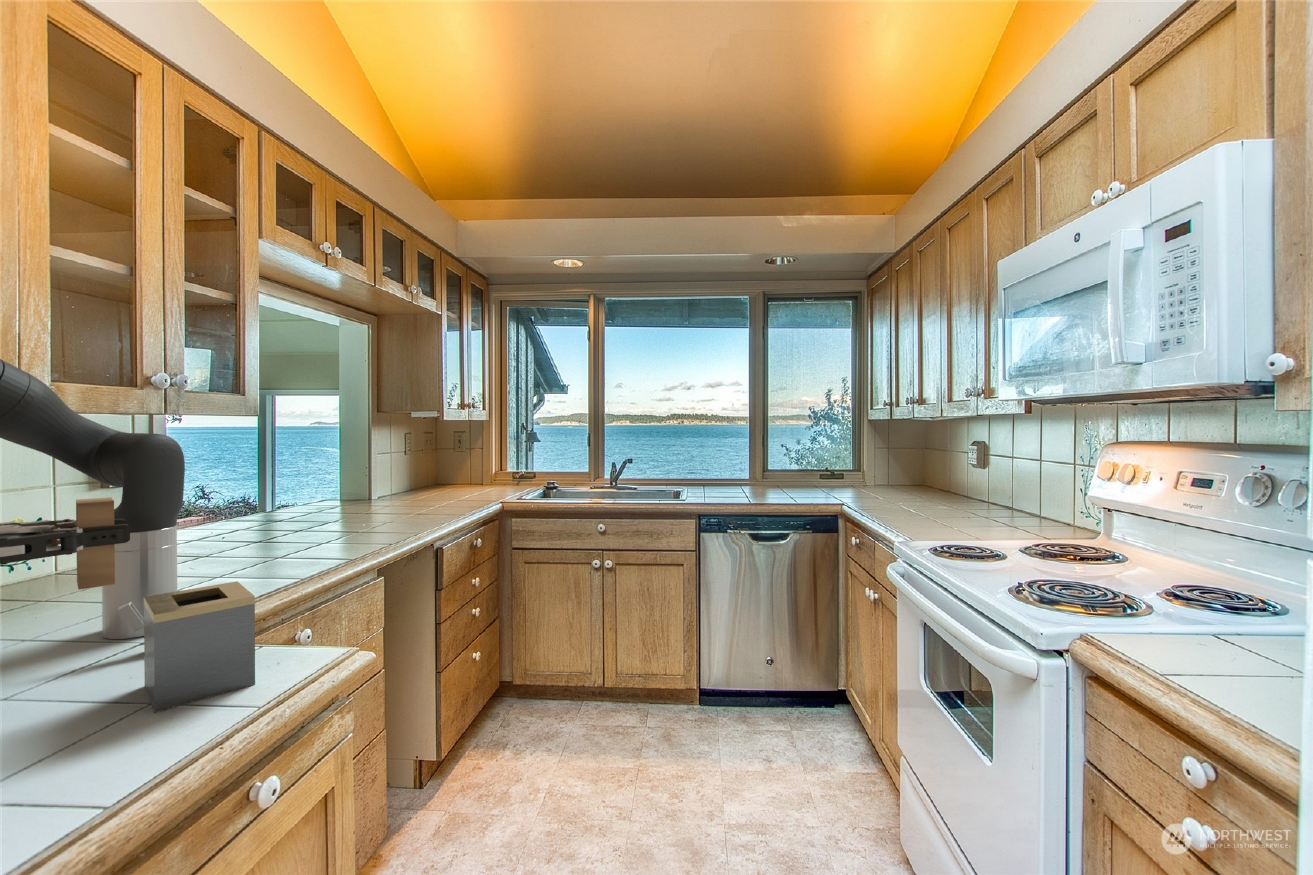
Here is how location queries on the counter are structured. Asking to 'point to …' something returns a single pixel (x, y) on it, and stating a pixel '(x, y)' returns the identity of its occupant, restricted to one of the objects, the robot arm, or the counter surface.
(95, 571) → the wooden block
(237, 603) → the coin box
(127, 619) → the lighter
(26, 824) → the counter surface
